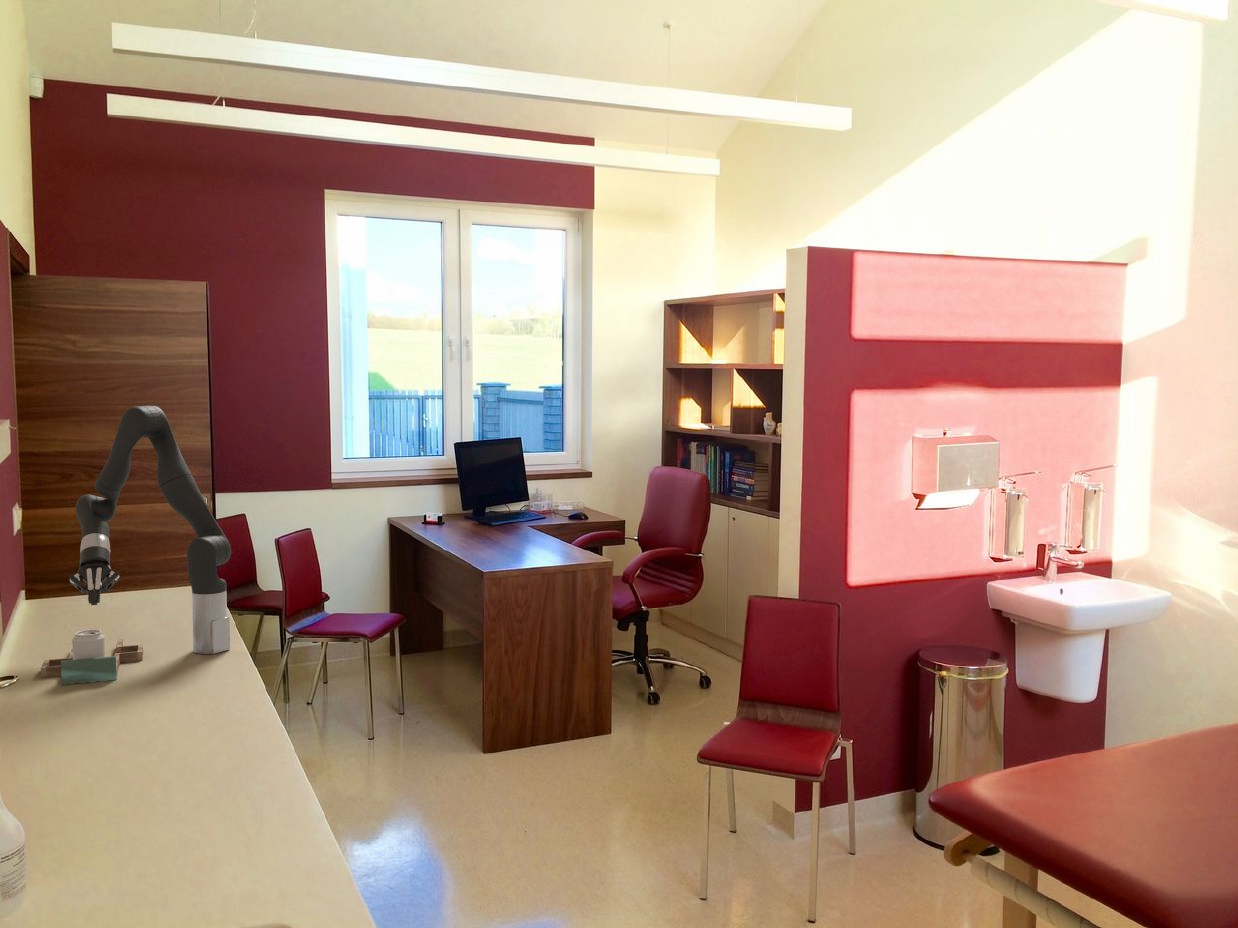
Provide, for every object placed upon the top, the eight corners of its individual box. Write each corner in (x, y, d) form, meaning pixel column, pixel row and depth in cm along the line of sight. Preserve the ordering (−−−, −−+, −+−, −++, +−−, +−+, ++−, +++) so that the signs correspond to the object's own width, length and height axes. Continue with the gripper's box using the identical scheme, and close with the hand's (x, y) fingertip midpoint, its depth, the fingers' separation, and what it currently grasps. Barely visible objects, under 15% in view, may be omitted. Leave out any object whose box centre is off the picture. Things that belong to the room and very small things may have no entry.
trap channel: (52, 653, 283) (51, 632, 282) (144, 645, 292) (143, 624, 292) (36, 687, 251) (35, 664, 250) (140, 677, 260) (139, 654, 260)
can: (111, 672, 264) (110, 628, 263) (95, 681, 256) (93, 635, 256) (84, 672, 264) (82, 627, 263) (67, 680, 257) (65, 634, 256)
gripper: (67, 546, 279) (65, 598, 269) (120, 543, 284) (120, 593, 274) (70, 562, 284) (68, 613, 274) (121, 559, 289) (121, 608, 279)
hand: (94, 603), depth 274 cm, fingers closed
